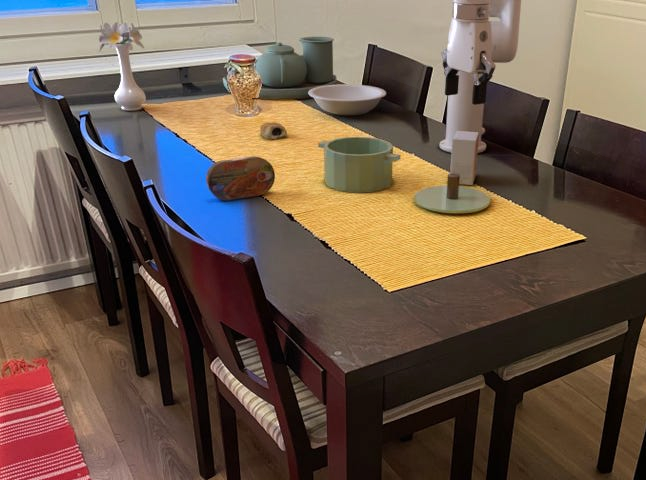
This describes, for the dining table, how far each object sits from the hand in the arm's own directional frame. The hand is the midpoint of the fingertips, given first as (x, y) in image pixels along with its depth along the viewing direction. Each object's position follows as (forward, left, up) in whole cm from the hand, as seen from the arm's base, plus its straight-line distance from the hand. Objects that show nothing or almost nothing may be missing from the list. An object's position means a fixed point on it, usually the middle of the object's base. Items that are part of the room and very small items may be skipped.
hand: (464, 99), depth 160 cm
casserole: (+8, -22, -20) cm, 31 cm away
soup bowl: (-47, -61, -20) cm, 80 cm away
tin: (+31, -38, -20) cm, 53 cm away
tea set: (-65, -101, -20) cm, 122 cm away
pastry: (-13, -64, -20) cm, 69 cm away
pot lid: (+9, +3, -20) cm, 22 cm away
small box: (-7, -2, -20) cm, 22 cm away
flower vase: (-14, -121, -20) cm, 124 cm away
